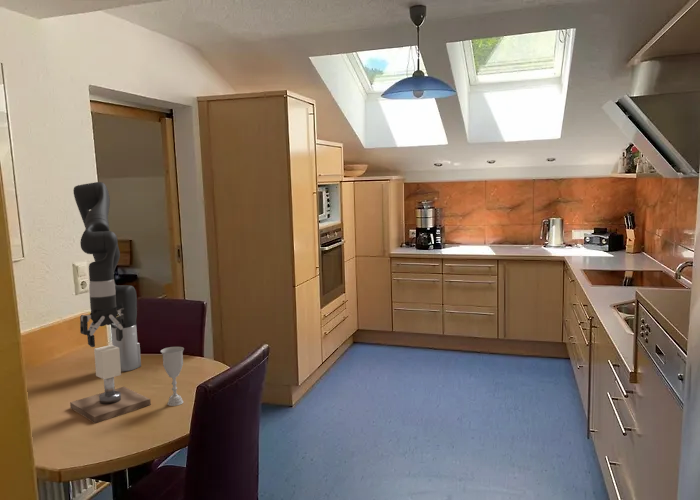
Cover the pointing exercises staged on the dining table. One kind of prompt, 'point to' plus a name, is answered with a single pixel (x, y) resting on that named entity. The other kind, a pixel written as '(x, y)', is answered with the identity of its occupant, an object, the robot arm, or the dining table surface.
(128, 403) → the walnut block
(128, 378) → the dining table surface
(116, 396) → the dark grey cylinder
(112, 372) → the cream rectangular block
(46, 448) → the dining table surface
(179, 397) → the chalice
